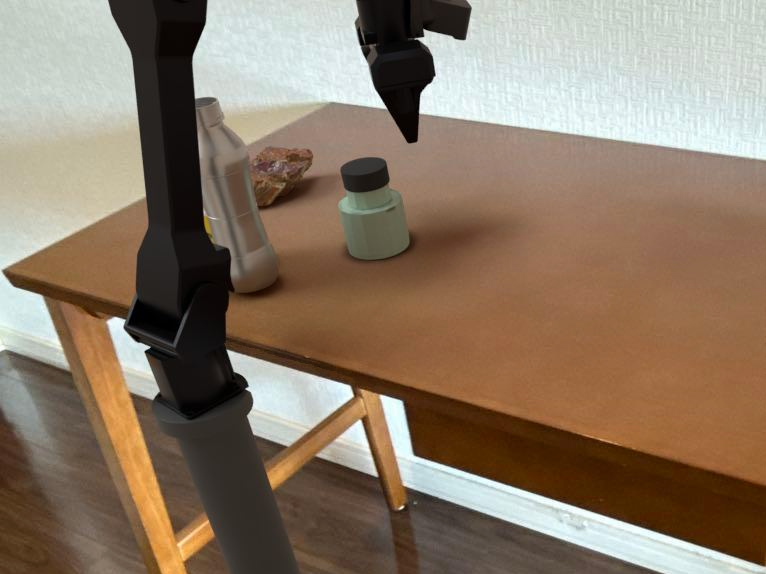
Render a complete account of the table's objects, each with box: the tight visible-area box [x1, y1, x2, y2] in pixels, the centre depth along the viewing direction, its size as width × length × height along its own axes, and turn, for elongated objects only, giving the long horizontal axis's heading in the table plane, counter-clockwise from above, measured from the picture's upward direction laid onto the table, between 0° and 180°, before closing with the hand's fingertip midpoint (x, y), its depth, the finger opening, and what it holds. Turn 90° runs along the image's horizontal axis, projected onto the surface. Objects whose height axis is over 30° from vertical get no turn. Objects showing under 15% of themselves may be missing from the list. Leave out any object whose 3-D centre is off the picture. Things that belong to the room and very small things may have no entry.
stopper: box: [339, 156, 391, 193], centre depth 115 cm, size 5×5×5 cm
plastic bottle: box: [195, 96, 280, 294], centre depth 108 cm, size 6×7×20 cm
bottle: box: [337, 182, 411, 261], centre depth 117 cm, size 7×7×8 cm
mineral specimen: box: [250, 145, 314, 207], centre depth 133 cm, size 12×8×7 cm
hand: (407, 128), depth 111 cm, fingers open, 9 cm apart
